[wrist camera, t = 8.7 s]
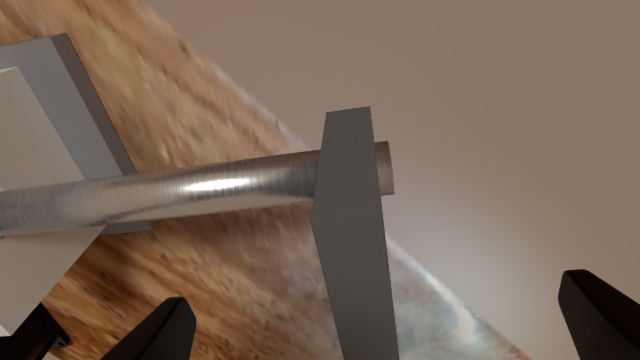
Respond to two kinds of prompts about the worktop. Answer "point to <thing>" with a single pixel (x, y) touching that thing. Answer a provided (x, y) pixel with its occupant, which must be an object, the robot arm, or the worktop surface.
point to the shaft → (257, 193)
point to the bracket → (50, 162)
